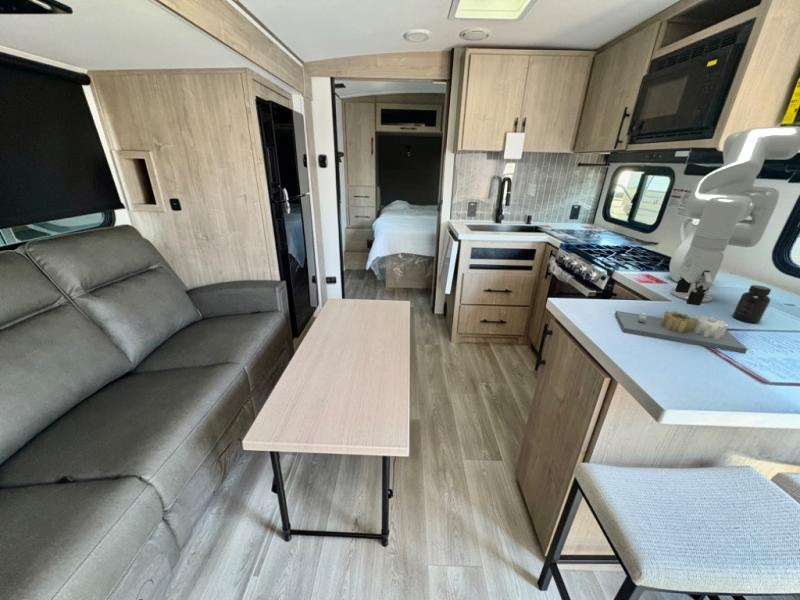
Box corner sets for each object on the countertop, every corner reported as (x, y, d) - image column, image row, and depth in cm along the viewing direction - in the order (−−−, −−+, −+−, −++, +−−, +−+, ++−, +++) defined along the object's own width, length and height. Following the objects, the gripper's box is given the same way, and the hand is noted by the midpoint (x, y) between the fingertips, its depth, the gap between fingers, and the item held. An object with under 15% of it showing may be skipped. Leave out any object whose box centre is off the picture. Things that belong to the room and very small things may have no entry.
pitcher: (721, 290, 140) (750, 224, 129) (677, 287, 142) (702, 222, 131) (686, 272, 161) (709, 215, 150) (649, 270, 164) (668, 213, 153)
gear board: (614, 314, 115) (619, 298, 112) (722, 331, 105) (730, 314, 102) (623, 332, 103) (628, 314, 100) (745, 353, 93) (754, 334, 90)
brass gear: (657, 320, 108) (661, 309, 106) (684, 324, 105) (689, 313, 104) (664, 330, 101) (668, 318, 100) (693, 335, 99) (699, 323, 97)
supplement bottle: (764, 325, 110) (782, 292, 105) (741, 322, 111) (757, 290, 106) (749, 316, 116) (764, 284, 111) (726, 314, 117) (741, 282, 112)
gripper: (681, 235, 101) (663, 286, 108) (705, 249, 86) (681, 307, 94) (712, 237, 99) (691, 289, 106) (741, 252, 84) (714, 312, 91)
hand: (686, 298), depth 100 cm, fingers open, 9 cm apart
